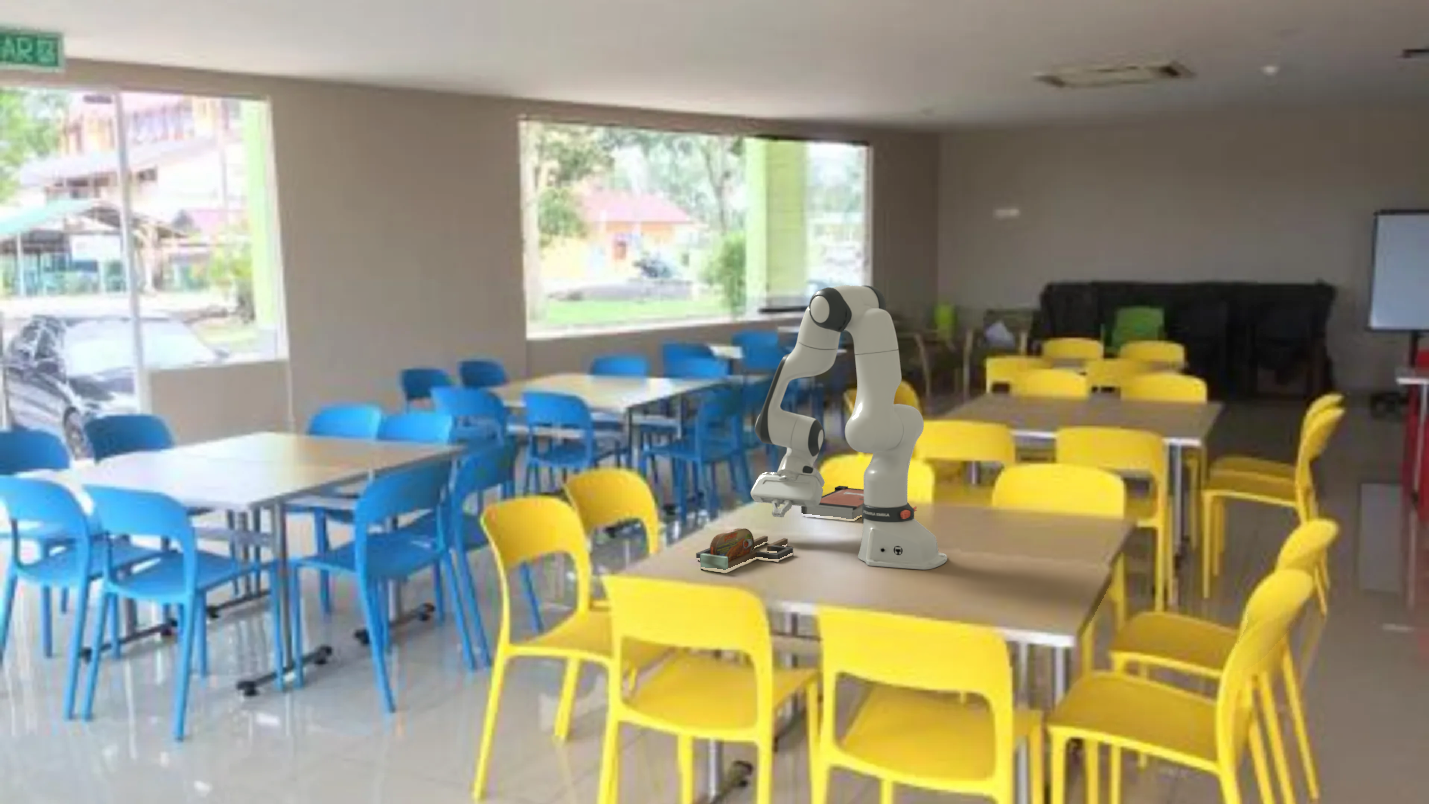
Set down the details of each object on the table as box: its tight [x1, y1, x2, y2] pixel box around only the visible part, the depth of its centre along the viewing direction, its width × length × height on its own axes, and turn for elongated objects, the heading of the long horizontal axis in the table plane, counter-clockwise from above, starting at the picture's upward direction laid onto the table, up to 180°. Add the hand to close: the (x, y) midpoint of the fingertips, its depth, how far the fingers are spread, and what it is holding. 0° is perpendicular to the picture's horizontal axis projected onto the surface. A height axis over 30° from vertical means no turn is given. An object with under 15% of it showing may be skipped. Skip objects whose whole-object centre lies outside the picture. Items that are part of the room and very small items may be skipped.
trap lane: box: [695, 535, 794, 570], centre depth 308 cm, size 19×31×4 cm, turn 147°
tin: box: [709, 527, 755, 562], centre depth 303 cm, size 15×3×8 cm, turn 139°
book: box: [800, 485, 864, 519], centre depth 360 cm, size 26×18×5 cm
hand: (777, 515), depth 320 cm, fingers closed
